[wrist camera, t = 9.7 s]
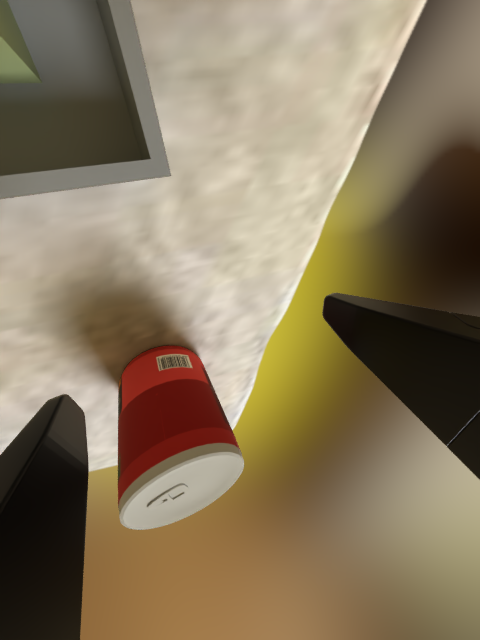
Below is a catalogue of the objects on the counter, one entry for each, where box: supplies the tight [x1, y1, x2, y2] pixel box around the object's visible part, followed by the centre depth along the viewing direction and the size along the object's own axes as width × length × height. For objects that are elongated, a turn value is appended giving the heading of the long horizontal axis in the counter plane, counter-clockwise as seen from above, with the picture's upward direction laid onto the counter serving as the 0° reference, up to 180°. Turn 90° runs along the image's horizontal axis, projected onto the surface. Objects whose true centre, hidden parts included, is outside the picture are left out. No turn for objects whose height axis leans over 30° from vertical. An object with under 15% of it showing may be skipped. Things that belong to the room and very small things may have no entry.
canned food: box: [118, 346, 244, 530], centre depth 19 cm, size 8×8×11 cm
